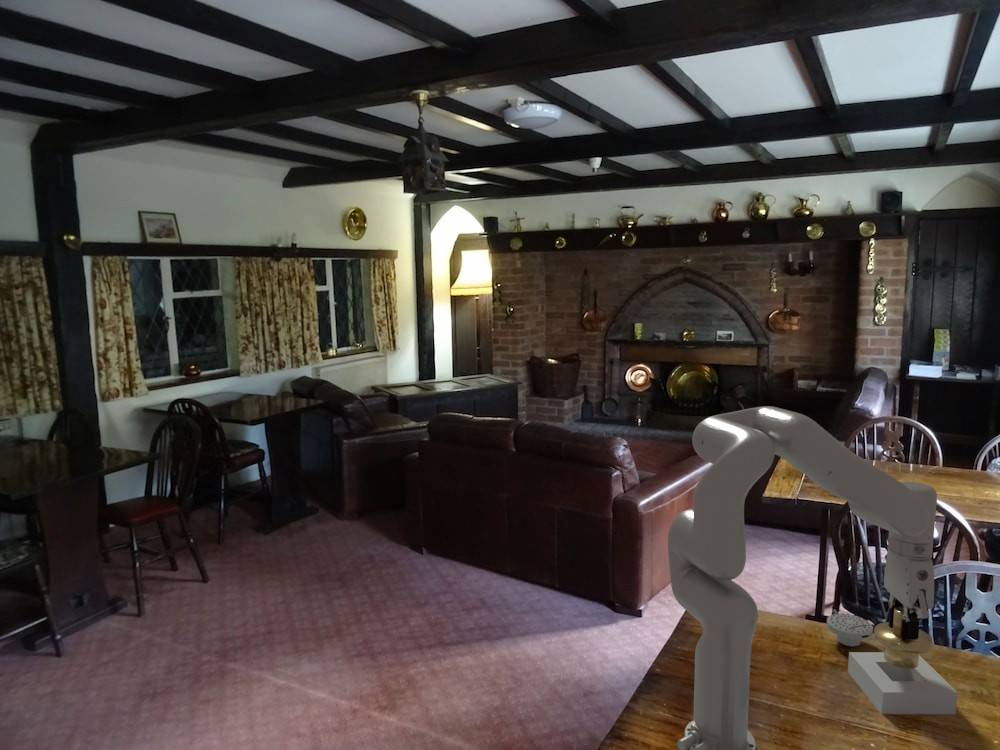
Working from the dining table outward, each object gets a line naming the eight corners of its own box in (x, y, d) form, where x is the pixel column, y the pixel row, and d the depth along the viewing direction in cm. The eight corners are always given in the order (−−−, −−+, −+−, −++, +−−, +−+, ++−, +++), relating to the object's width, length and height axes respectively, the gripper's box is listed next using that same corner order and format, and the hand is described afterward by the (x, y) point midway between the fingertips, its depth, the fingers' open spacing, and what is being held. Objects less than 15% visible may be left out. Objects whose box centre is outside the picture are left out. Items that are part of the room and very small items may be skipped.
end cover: (888, 674, 134) (892, 624, 132) (863, 646, 144) (866, 599, 142) (941, 674, 134) (945, 624, 132) (912, 646, 144) (916, 599, 142)
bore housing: (881, 720, 134) (883, 692, 133) (847, 678, 147) (849, 652, 146) (955, 721, 133) (957, 692, 132) (914, 678, 147) (916, 652, 146)
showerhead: (849, 605, 164) (883, 626, 154) (848, 634, 165) (881, 656, 155) (816, 611, 161) (848, 632, 152) (814, 640, 162) (846, 663, 153)
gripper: (955, 563, 127) (947, 656, 130) (906, 529, 143) (899, 612, 146) (914, 563, 127) (906, 655, 130) (869, 529, 144) (863, 612, 146)
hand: (903, 632), depth 138 cm, fingers closed on end cover, 3 cm apart
